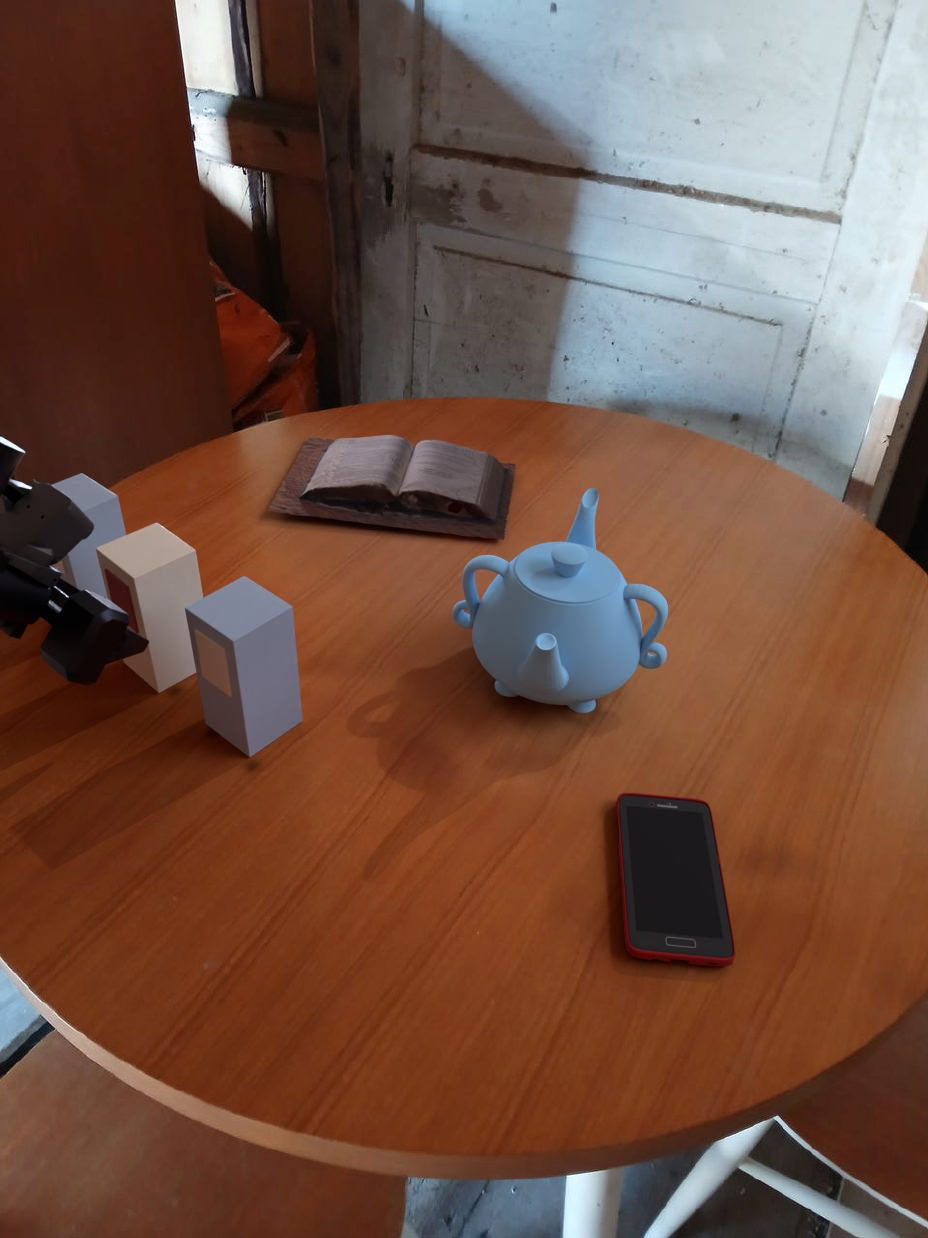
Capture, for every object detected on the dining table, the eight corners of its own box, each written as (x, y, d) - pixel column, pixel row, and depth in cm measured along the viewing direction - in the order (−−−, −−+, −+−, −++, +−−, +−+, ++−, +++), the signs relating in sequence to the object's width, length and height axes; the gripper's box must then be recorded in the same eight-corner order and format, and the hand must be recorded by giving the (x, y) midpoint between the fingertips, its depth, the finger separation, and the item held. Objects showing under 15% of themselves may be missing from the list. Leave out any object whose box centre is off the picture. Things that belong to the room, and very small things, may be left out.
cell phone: (625, 959, 64) (627, 952, 63) (614, 798, 75) (616, 790, 75) (735, 970, 63) (738, 963, 63) (707, 806, 75) (710, 799, 74)
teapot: (576, 598, 97) (595, 483, 88) (682, 718, 83) (716, 597, 74) (437, 632, 91) (441, 514, 82) (525, 768, 77) (542, 643, 69)
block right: (247, 759, 77) (230, 642, 68) (203, 724, 79) (182, 608, 71) (302, 721, 80) (292, 606, 72) (258, 689, 83) (244, 575, 75)
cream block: (156, 694, 82) (131, 579, 74) (121, 663, 85) (92, 548, 77) (214, 663, 86) (195, 549, 78) (178, 633, 89) (156, 522, 81)
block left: (87, 634, 88) (56, 521, 80) (53, 608, 91) (20, 496, 83) (142, 606, 92) (118, 495, 84) (108, 581, 95) (81, 472, 87)
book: (504, 546, 104) (508, 512, 101) (265, 516, 105) (264, 481, 103) (515, 472, 120) (519, 440, 118) (308, 446, 122) (308, 414, 119)
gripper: (78, 522, 60) (229, 585, 74) (-59, 429, 69) (98, 501, 83) (-5, 668, 60) (161, 704, 74) (-131, 556, 69) (38, 607, 83)
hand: (114, 622), depth 78 cm, fingers open, 9 cm apart
